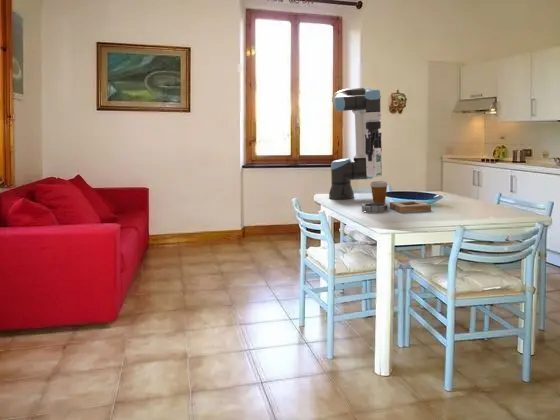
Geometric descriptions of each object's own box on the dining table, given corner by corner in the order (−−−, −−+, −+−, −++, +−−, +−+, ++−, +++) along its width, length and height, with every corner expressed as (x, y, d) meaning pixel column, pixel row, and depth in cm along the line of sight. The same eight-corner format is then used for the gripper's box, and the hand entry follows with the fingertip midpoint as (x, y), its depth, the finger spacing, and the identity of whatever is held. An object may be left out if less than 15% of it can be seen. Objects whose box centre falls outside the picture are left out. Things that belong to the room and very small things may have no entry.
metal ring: (369, 207, 276) (369, 201, 275) (391, 209, 268) (391, 203, 267) (357, 211, 266) (357, 206, 265) (380, 213, 258) (380, 207, 257)
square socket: (389, 207, 272) (389, 202, 272) (418, 205, 274) (418, 200, 274) (400, 213, 257) (400, 207, 256) (430, 210, 259) (430, 204, 258)
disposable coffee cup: (387, 205, 280) (387, 183, 278) (370, 205, 282) (369, 183, 280) (387, 202, 289) (387, 181, 287) (370, 202, 291) (370, 181, 289)
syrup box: (376, 177, 260) (375, 148, 257) (366, 176, 264) (365, 148, 261) (381, 175, 264) (381, 147, 261) (371, 175, 268) (371, 147, 265)
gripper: (371, 121, 249) (371, 169, 253) (388, 120, 264) (388, 165, 268) (357, 122, 254) (358, 168, 258) (375, 120, 268) (375, 164, 272)
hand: (373, 166), depth 263 cm, fingers closed on syrup box, 6 cm apart
